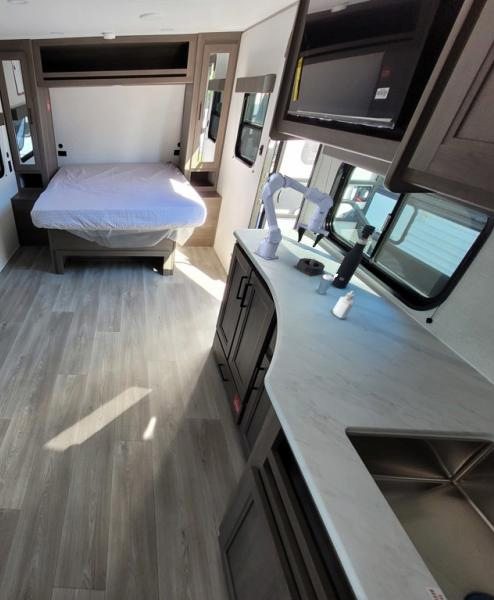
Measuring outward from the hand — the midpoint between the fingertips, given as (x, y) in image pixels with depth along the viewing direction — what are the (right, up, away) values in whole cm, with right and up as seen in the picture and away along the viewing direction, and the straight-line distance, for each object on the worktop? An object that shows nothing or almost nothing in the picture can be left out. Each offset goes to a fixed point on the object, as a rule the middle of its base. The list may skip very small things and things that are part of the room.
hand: (306, 244), depth 163 cm
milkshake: (-5, -26, -19) cm, 33 cm away
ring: (0, -13, -2) cm, 13 cm away
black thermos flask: (+7, -23, -13) cm, 27 cm away
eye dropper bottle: (-8, -36, -34) cm, 50 cm away
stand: (0, -14, -2) cm, 14 cm away
